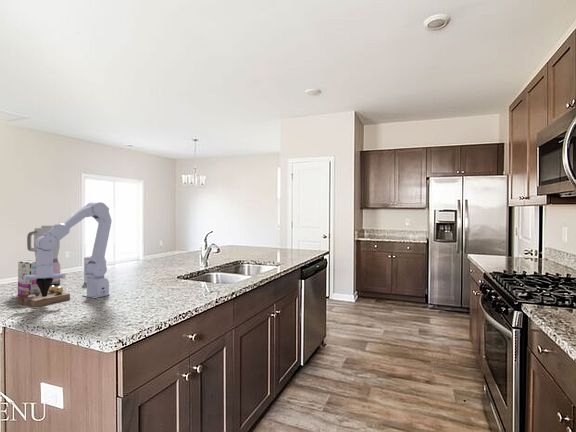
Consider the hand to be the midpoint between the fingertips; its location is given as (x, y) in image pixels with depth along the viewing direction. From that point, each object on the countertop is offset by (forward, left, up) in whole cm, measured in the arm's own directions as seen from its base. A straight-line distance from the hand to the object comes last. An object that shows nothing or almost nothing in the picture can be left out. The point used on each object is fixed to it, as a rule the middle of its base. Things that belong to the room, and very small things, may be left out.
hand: (44, 296), depth 141 cm
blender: (+39, -20, -4) cm, 44 cm away
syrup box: (+26, -38, -4) cm, 46 cm away
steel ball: (+9, 0, -2) cm, 9 cm away
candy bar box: (+20, -4, -4) cm, 20 cm away
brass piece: (+3, -7, +1) cm, 8 cm away
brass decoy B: (+8, -7, +1) cm, 11 cm away
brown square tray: (+6, -3, -3) cm, 8 cm away
